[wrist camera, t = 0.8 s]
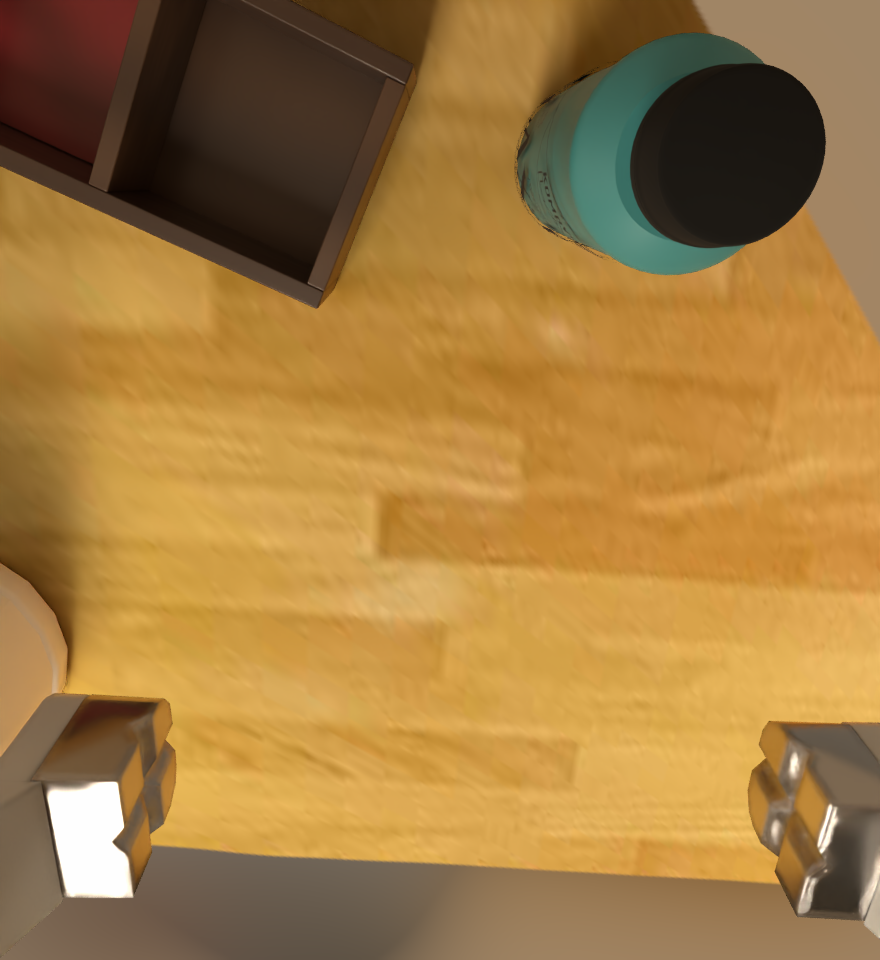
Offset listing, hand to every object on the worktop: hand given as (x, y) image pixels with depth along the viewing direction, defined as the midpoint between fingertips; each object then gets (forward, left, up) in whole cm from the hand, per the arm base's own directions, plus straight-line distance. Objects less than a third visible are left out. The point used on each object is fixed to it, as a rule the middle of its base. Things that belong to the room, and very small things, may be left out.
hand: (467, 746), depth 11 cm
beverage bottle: (-10, +3, -30) cm, 32 cm away
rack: (-5, -15, -30) cm, 34 cm away
